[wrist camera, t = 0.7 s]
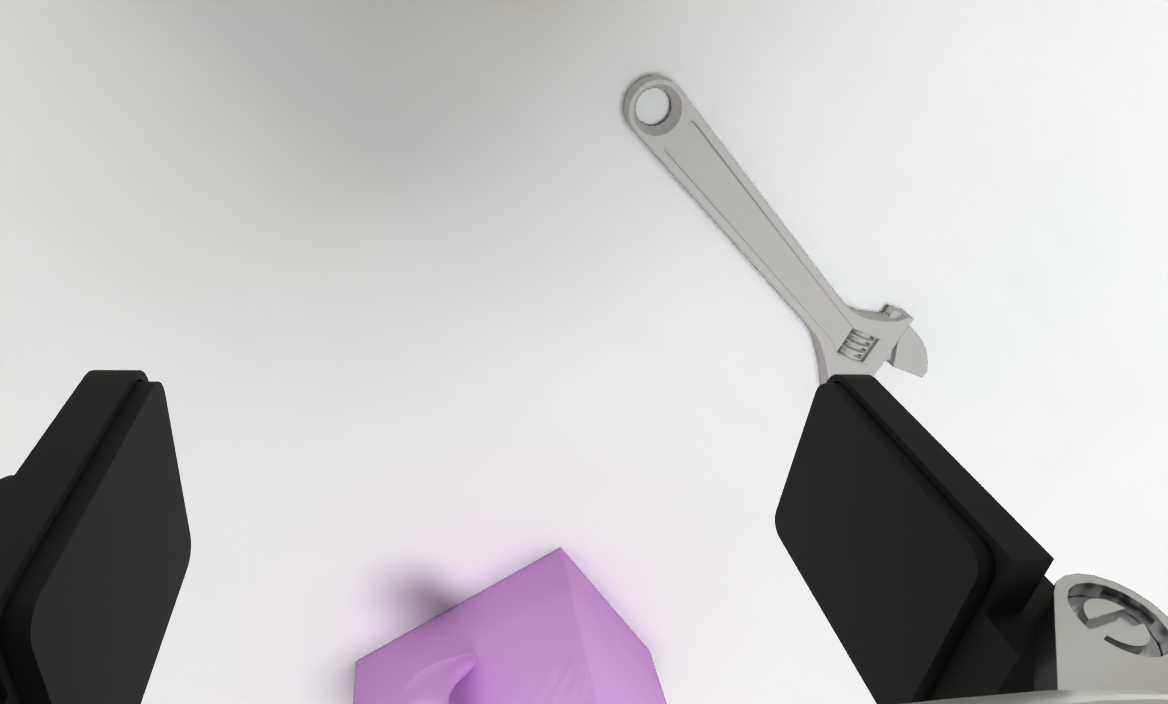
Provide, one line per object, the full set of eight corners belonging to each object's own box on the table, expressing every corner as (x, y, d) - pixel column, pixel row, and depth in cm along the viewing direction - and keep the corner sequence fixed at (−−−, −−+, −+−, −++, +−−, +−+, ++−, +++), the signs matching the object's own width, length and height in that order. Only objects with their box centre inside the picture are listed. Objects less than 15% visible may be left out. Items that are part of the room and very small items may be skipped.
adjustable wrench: (605, 102, 33) (614, 110, 32) (722, 3, 32) (737, 7, 30) (841, 425, 46) (856, 442, 44) (930, 362, 45) (949, 378, 43)
